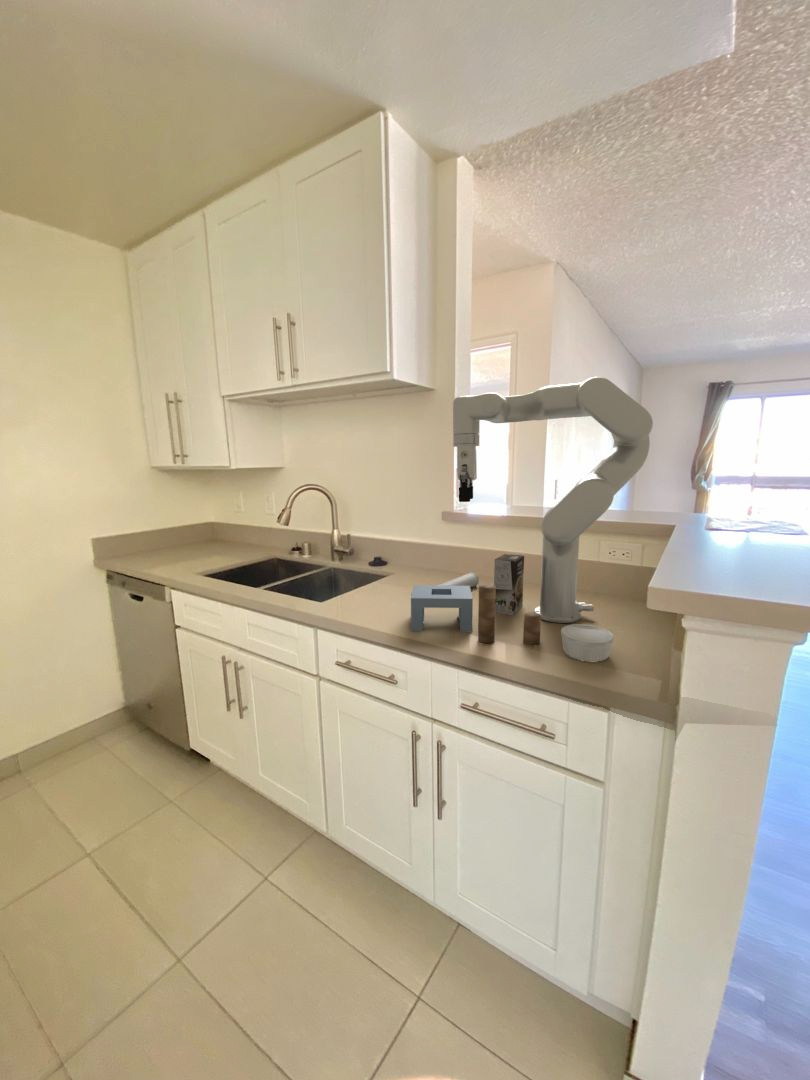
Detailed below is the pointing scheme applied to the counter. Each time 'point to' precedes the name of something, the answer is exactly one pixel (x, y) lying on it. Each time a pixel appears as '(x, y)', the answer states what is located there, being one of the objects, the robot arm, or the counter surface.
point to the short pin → (532, 628)
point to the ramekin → (586, 642)
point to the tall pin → (486, 614)
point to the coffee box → (508, 583)
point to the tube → (463, 581)
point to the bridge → (441, 603)
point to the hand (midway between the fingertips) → (466, 500)
